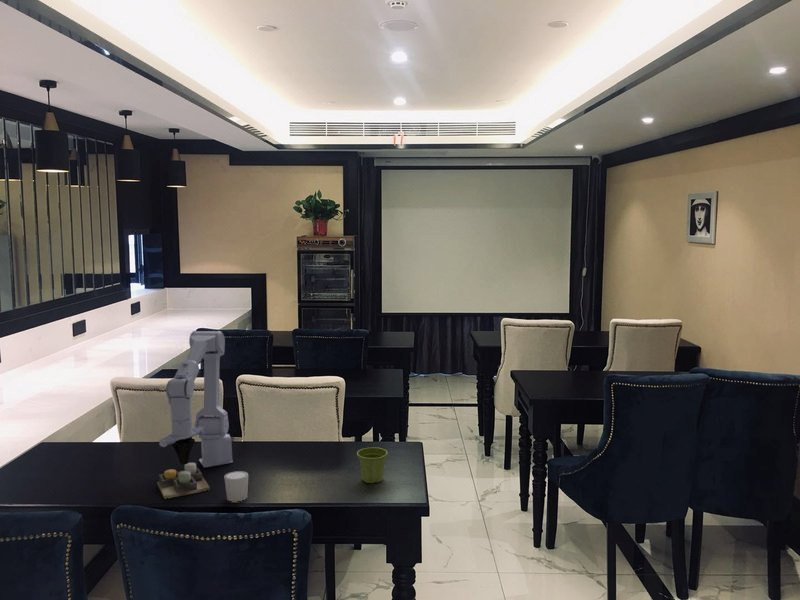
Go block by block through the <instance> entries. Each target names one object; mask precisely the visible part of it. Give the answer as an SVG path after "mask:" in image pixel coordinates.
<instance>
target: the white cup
mask: <svg viewBox="0 0 800 600" xmlns="http://www.w3.org/2000/svg"><path fill="white" fill-rule="evenodd" d="M223 476H224V477H223V478H224V484H225V492H226V499H227V501H228V500H229V501H232V502H231V503H238V502H237V501H241V502H243V501H242V500H244V501H246V500H247V499H248V490H249V489H248V488H249V487H248V486H249V473H248V472H247V471H243V470H241V471H240V470H236V471H231V472H227V473H226V474H224V475H223ZM246 498H247V499H246ZM245 499H246V500H245ZM229 501H228V502H229Z"/></svg>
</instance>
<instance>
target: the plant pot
mask: <svg viewBox="0 0 800 600" xmlns="http://www.w3.org/2000/svg"><path fill="white" fill-rule="evenodd" d="M356 455H357V457H358V460H359V464H360V465H359V466H360V471H361V478H362V481H363V482H364V483H367V484H368V483H369V484H374V483H380V482H382V481H383V477H384V468H385V463H386V459H387V456H388V450H386V449H384V448H382V447H366V448H361V449H359V450H358V451H357V452H356Z"/></svg>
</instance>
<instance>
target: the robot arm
mask: <svg viewBox="0 0 800 600" xmlns="http://www.w3.org/2000/svg"><path fill="white" fill-rule="evenodd" d="M188 342H189V346H190V350H189V353H188V356H187V358H186V360H184V361H181V363H180V365H179V367H178V369H177V371H176V373H175V375H174V377H173V378H171V379H170V380H168V381H167V383H166V387H165V389H166V390H165V394H166V397H167V401H168V405H169V406H170V419H171V420H170V421H171V422H170V423H171V433H170V434H168V435H167V436H164V437H162V438H160V439H158V440H159V447H162V448H166V447H167V446H169V445H171V446H172V448H173V449H174V451H175V454H176V455H177V458H178V461H179V464H180V465H183V466H185V464H188V463H189V460H190V455H191V452H192V449H193V446H194V445H195V443H196V440H195V438H193V437H196V436H198V438H200V443H201V447H200V448H201V458H199V459H198V461H199V463H200V464H201V465H202V467H203V468H210V467H216V466H222V465H227V464H232V463H234V462H233V446H232V437H231V435H230V433H228V432H229V428H230V427H229V426H230V425H229V423H230V422H229V416H228V415H229V414H228V411H227V410H225V409H223V408H222V406H220V361H221V360H220V359H221V357H222V356H224V355H225V347H226V346H225V345H226V338H225V335H224V333H223V332H222V331H221V330H218V331H215V330H212V331H211V330H209V331H206V330H205V331H201V330H200V331H199V330H197V331H196V330H193V331H192V332H191V333H190V335H189V340H188ZM202 359H203V360H204V361H203V365H204V366H203V369H204V371H203V407H202V408H201V409H200V410H198V411H197V412H196V416H195V421H194V427H193V418H192V417H193V416H192V396H193V394H194V389H195V382H196V379H197V376H198V374H199V372H200V366H199V364H200V363H201V361H202Z"/></svg>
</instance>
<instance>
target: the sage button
mask: <svg viewBox="0 0 800 600" xmlns="http://www.w3.org/2000/svg"><path fill="white" fill-rule="evenodd" d="M182 471H183V470H182ZM188 483H191V472H189V471H183V472H180V471H179V484H180V485H182V484H188Z"/></svg>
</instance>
